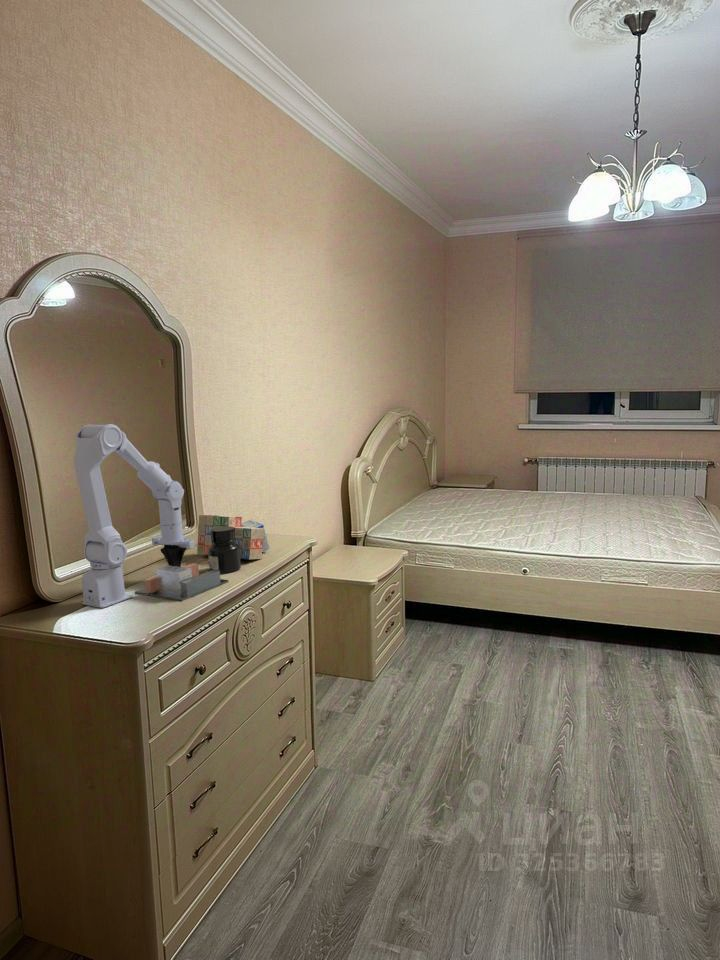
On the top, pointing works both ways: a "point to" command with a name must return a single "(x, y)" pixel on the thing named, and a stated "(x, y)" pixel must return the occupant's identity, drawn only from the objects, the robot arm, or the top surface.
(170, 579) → the steel block
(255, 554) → the stack of blocks
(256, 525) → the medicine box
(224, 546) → the ink bottle
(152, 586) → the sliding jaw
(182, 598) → the vise bed
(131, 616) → the top surface
